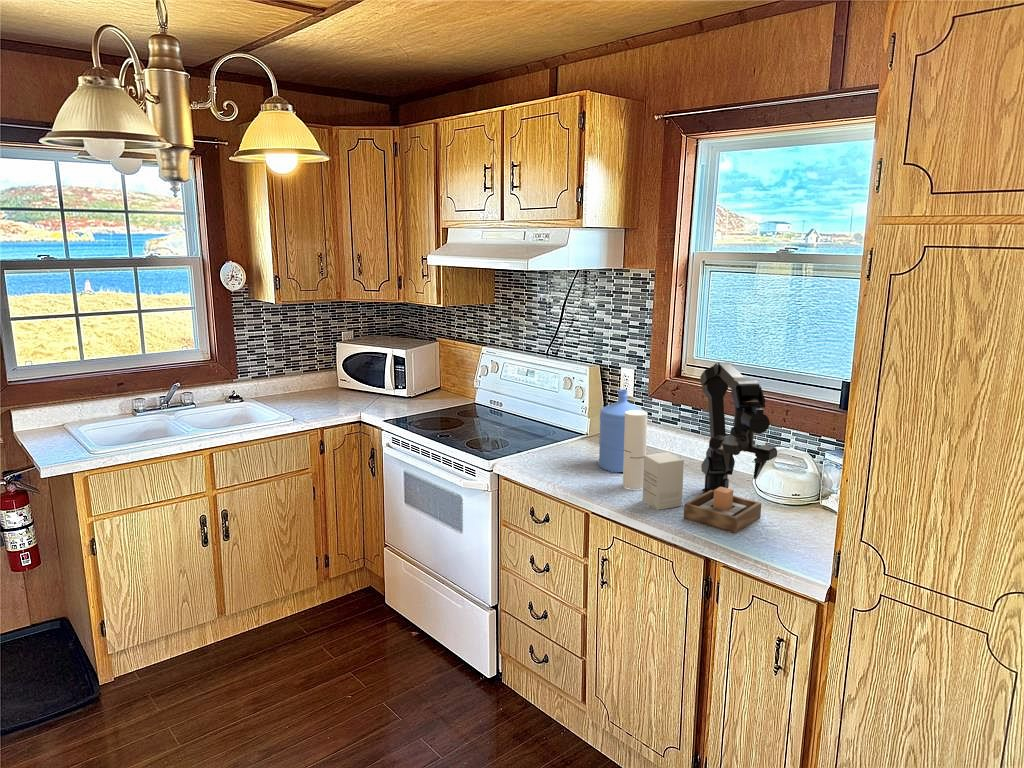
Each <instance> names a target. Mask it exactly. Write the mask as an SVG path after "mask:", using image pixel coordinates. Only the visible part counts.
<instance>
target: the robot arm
mask: <svg viewBox="0 0 1024 768" xmlns="http://www.w3.org/2000/svg"><path fill="white" fill-rule="evenodd" d="M699 378H700V379H699V380H700V385H701V389H702V392H703V393H704V395H705V396H706V397H707V401H708V416H709V417H708V418H709V432H710V433H709V435H710V436H709V437H710V439H709V441H708V448H707V449H706V452H705V458H704V460H703V461H702V463H701V465H700V466H701V467H700V468H701V472H702V473H703V474H704V475H705V477H704V488H702V489H701V492H704V493H706V492H708V491H710V490H715V489H717V488H719V487H724V488H728V489H729V485H730V484H729V482H730V479H729V475H730V476H732V475H733V472H734V467H735V463H736V462H735V461H736V460H735V458H734V456H738V455H740V454H741V452H747V453H753V454H754V456H755V458H754V459H753V461H754V470H753V480H757V479H758V478H759V475H760V474H761V471H762V470H763V468H764V466H765V465H766V463H767V462H768V461H771V460H773V459H775V458H777V457H778V449H777V447H775V446H772V445H771V446H770V445H767V444H762V445H760V446H755V445H756V440H755V439H754V437H755V434H757V435H758V434H759V435H761V434H763V433H765V432H767V430H769V427H770V419H769V417H768V416H767V415H766V414H764V409H765V408H766V402H767V401H766V397H765V394H764V392H763V388H762V386H761V385H760V383H759V382H758V381H757V380H754V379H751V378H746V377H745V376H744V375H742V373H741V372H739V370H737V369H736V368H735V367H734V365H733V363H732V362H729V361H728V362H727V361H725V362H723V361H721V362H719V361H717V363H716V362H715V363H714V364H713V365H712V366H710V367H708V368H706V369H704V370H703V372H702V373H701V375H700V377H699ZM729 388H730V395H731V397H732V400H733V403H732V405H733V406H734V414H733V426H732V427H731V428H730V432H729V435H726V434H727V433H726V432H727V431H726V418H725V415H726V414H725V402H724V397H725V396H726V394H727V392H728V391H729ZM763 408H764V409H763Z"/></svg>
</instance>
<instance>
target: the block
mask: <svg viewBox="0 0 1024 768" xmlns="http://www.w3.org/2000/svg"><path fill="white" fill-rule="evenodd" d="M733 496H734V489H732V488H729V487H728V488H724V487H719V488H717V489H715V490H714V500H713V508H717V509H721V510H724V511H729V510H730V509H732V504H733Z"/></svg>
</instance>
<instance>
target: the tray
mask: <svg viewBox="0 0 1024 768" xmlns="http://www.w3.org/2000/svg"><path fill="white" fill-rule="evenodd" d="M713 500H714V490H710V491H708V492H704V493H703V494H700V495H699V496H697V497H694V498H692V499H690V500H689V501H687V502H685V503H683V519H685V520H688V521H691V522H695V523H697V524H701V525H704V526H708V527H712V528H715V529H718V530H721V531H725V532H728V533H732V534H735V535H736V534H737V533H739V532H740V531H742V530H743V529H745V528H747V527H748V526H750V525H751V524H753V523H754V522H756V521H758V520H759V519H760V518H761V515H762V514H761V513H762V502H759V501H755V500H752V499H747V498H744V497H740V496H737V495H736V496H735V495H733V504H732V509H730V510H729V511H724V510H721V509H717V508H713Z"/></svg>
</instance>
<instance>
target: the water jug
mask: <svg viewBox="0 0 1024 768" xmlns="http://www.w3.org/2000/svg"><path fill="white" fill-rule="evenodd" d="M617 396H618V398H617V399H618V400H617V401H616V402H613V403H611V404H608V405H606V406H603V407H602V408H601V409H600V414H599V422H600V423H599V439H598V441H599V453H598V454H599V456H598V466H599V467H600V468H601V469H602V470H604V469H605V470H604V471H607V470H608V471H607V472H611V471H613V472H612V473H617V472H623V462H624V430H625V412H626V411H629V410H641V411H644V409H643V408H641V407H639V406H637V405H635V404H633V403H631V402H629V401H628V390H627V389H618V394H617Z"/></svg>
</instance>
